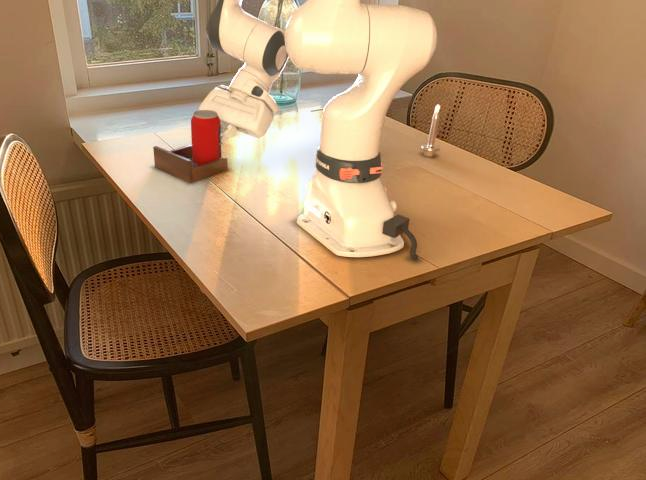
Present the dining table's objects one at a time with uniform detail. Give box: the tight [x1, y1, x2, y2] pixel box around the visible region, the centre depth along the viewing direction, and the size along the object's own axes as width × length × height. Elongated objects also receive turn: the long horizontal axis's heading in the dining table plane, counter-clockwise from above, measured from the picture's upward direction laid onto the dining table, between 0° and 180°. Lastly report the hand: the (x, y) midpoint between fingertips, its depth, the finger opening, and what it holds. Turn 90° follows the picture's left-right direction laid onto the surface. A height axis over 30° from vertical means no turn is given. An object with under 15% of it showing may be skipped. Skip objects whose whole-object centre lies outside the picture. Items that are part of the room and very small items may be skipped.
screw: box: [420, 104, 442, 158], centre depth 146 cm, size 13×5×5 cm
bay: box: [152, 143, 228, 184], centre depth 134 cm, size 11×12×5 cm
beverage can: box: [190, 109, 222, 166], centre depth 135 cm, size 7×7×12 cm
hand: (217, 141), depth 138 cm, fingers closed, pressing on beverage can
